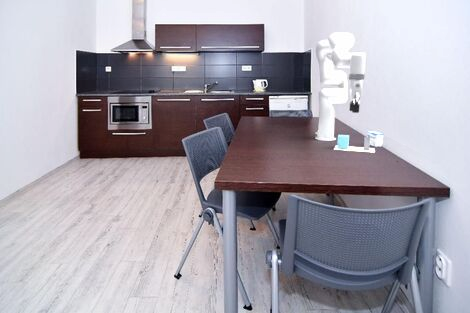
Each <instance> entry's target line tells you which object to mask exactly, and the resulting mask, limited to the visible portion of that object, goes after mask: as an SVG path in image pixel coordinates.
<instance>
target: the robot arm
mask: <svg viewBox="0 0 470 313" xmlns="http://www.w3.org/2000/svg"><path fill="white" fill-rule="evenodd" d="M354 45H355V37H354V35H353V33H349V32H333V33H332V34H330V35H329V36H328V38H327V39H322V40H319V41H318V42H317V43H316V45H315V55H316V59H317V62H318V69H319V81H320V85H321V86H323V87H324V88H323V87H322V88H321V89H320V90H319V91H318V102H319V103H318V104H319V106H318V107H319V108H318V109H319V111H318V130H317V131H315V134H316V136H314V139H315V140H317V141H324V142H325V141H327V142H328V141H329V142H330V141H336V140H337V138H336V136H334V135H335V122H336V121H335V119H336V110H335V108H334V106H333V104H339V105H340V104H345V103H347V101H348V99H349V101H350V103H349V111H350V112H352V113H354V114H356V113H359V112H360V102H361V101H362V100H363V82H365V73H366V60H367V55H366V53H365V52H350V50H351V49H352V48H353V46H354ZM329 55H330V56H331V57H330V56H329ZM334 66H335V67H336V68H341V69H344V68H345V69H348V71H349V72H348V77H347V73H346V72H344V71H343V70H336V69H335V68H334ZM348 81H349V82H350V85H349V86H350V87H349V90H348Z"/></svg>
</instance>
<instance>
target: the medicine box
mask: <svg viewBox="0 0 470 313" xmlns="http://www.w3.org/2000/svg"><path fill="white" fill-rule="evenodd" d="M366 136H370V146H373V147H376V148H377V147H383V142H384V140H383V139H384V133H382V132H377V131H367V135H366Z"/></svg>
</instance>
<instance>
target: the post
mask: <svg viewBox="0 0 470 313" xmlns="http://www.w3.org/2000/svg"><path fill="white" fill-rule="evenodd" d="M363 139H364V140H363V141H364V142H363V147H364V150H369V148H371V147H370V146H371V145H370V136H367V135H366V136H365V135H364V138H363Z"/></svg>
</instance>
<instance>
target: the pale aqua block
mask: <svg viewBox="0 0 470 313" xmlns="http://www.w3.org/2000/svg"><path fill="white" fill-rule="evenodd" d="M349 141H350V135H349V134H338V136H337V145H336V146H337V149H348V146H349V144H350V143H349Z"/></svg>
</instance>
